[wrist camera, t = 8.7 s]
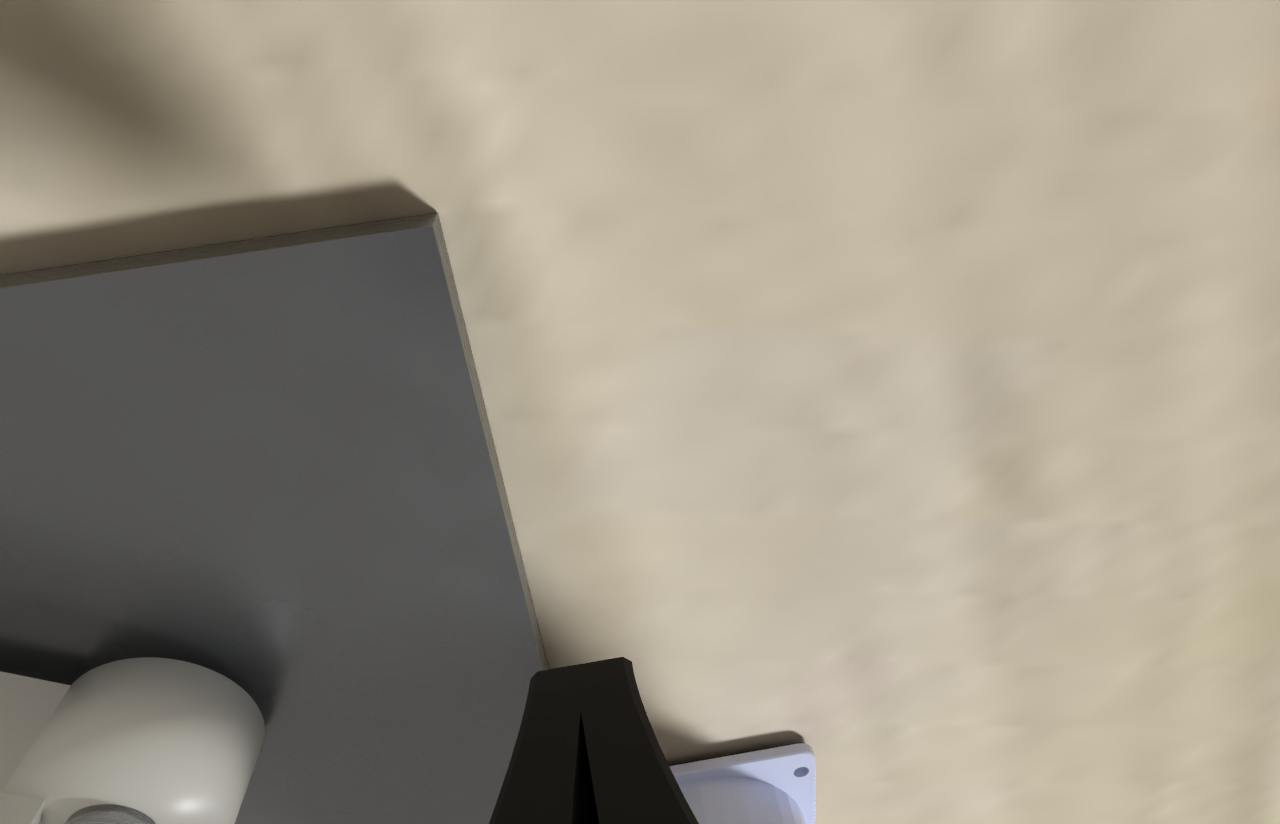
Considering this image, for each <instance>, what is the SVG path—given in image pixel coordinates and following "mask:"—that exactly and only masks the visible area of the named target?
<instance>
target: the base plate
mask: <svg viewBox="0 0 1280 824" xmlns="http://www.w3.org/2000/svg"><path fill="white" fill-rule="evenodd" d="M140 657H157V658H169V659H175V660H181V661H186V662H190V663H193V664H197V665H200V666H203V667H206V668H208V669H211V670H213V671H215V672H217V673H220V674H222V675H223V676H225V677H227V678H228V679H230V680H232V681H233V682H235V683H236V684H237V685H239V686H240V687H241V688H242V689H244V690H245V691H246V692H247V693H248V694H249V695H250V696H251V698H252V699H253V700H254V701H255V703H256V704H257V706H258V708H259V709H260V711H261V714H262V717H263V719H264V725H265V737H264V741H263V745H262V747H261V750H260V753H259V756H258V759H257V762H256V764H255V767H254V770H253V773H252V776H251V779H250V781H249V784H248V787H247V790H246V793H245V796H244V798H243V801H242V804H241V807H240V810H239V813H238V815H237V818H236V821H235V824H489V822H490V819H491V817H492V814H493V811H494V808H495V805H496V802H497V799H498V796H499V793H500V790H501V787H502V784H503V781H504V778H505V775H506V772H507V770H508V767H509V763H510V760H511V757H512V753H513V750H514V746H515V743H516V740H517V736H518V733H519V729H520V725H521V721H522V717H523V713H524V709H525V705H526V700H527V696H528V690H529V685H530V679H531V678H532V677H533V676H534V674H535V673H536V672H538V671H543V670H549V668H548V664H547V660H546V656H545V652H544V648H543V643H542V639H541V635H540V631H539V627H538V623H537V619H536V615H535V611H534V606H533V602H532V598H531V594H530V590H529V586H528V582H527V578H526V573H525V569H524V565H523V561H522V557H521V553H520V549H519V545H518V541H517V536H516V532H515V528H514V524H513V520H512V516H511V512H510V508H509V504H508V499H507V495H506V491H505V487H504V483H503V479H502V475H501V471H500V467H499V462H498V458H497V454H496V450H495V446H494V442H493V438H492V434H491V430H490V425H489V421H488V417H487V413H486V409H485V405H484V401H483V397H482V392H481V388H480V384H479V380H478V376H477V372H476V368H475V364H474V360H473V355H472V351H471V347H470V343H469V339H468V335H467V331H466V327H465V323H464V318H463V314H462V310H461V306H460V302H459V298H458V294H457V290H456V286H455V281H454V277H453V273H452V269H451V265H450V261H449V257H448V253H447V248H446V244H445V240H444V236H443V232H442V228H441V224H440V220H439V216H438V213H431V214H424V215H417V216H410V217H403V218H396V219H390V220H383V221H376V222H369V223H362V224H355V225H348V226H341V227H334V228H327V229H320V230H313V231H306V232H299V233H292V234H286V235H279V236H272V237H265V238H258V239H251V240H244V241H237V242H230V243H223V244H216V245H209V246H202V247H195V248H188V249H181V250H175V251H168V252H161V253H154V254H147V255H140V256H133V257H126V258H119V259H112V260H105V261H98V262H91V263H84V264H77V265H70V266H64V267H57V268H50V269H43V270H36V271H29V272H22V273H15V274H8V275H1V276H0V671H1V672H6V673H11V674H16V675H21V676H26V677H31V678H36V679H41V680H46V681H51V682H56V683H61V684H66V685H72V684H73V682H74V681H76V680H77V679H78V678H79V677H80V676H82V675H83V674H85V673H87V672H88V671H90V670H92V669H94V668H96V667H99V666H101V665H103V664H107V663H110V662H113V661H118V660H123V659H129V658H140Z"/></svg>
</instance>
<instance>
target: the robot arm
mask: <svg viewBox="0 0 1280 824" xmlns="http://www.w3.org/2000/svg"><path fill="white" fill-rule="evenodd" d="M489 824H816V776H815V756H814V753H813V750H812V747H810V746H809V745H807V744H803V743H799V744H792V745H787V746H781V747H775V748H770V749H764V750H758V751H753V752H747V753H741V754H736V755H730V756H724V757H719V758H713V759H707V760H702V761H696V762H690V763H685V764H679V765H673V766H669V765H668V763H667V761H666V759H665V757H664V754H663V752H662V750H661V748H660V746H659V743H658V741H657V739H656V737H655V734H654V732H653V729H652V727H651V724H650V722H649V719H648V717H647V714H646V712H645V709H644V706H643V703H642V701H641V697H640V694H639V691H638V688H637V684H636V680H635V677H634V672H633V666H632V662H631V661H629V660H628V659H626V658H624V657H620V658H614V659H608V660H602V661H596V662H590V663H585V664H579V665H573V666H567V667H561V668H555V669H549V670H543V671H538V672H536V673H535V674H534V676H533V677H532V678H531V679H530V685H529V690H528V696H527V700H526V705H525V709H524V713H523V717H522V721H521V725H520V729H519V733H518V736H517V740H516V743H515V746H514V750H513V753H512V757H511V760H510V763H509V767H508V770H507V772H506V775H505V778H504V781H503V784H502V787H501V790H500V793H499V796H498V799H497V802H496V805H495V808H494V811H493V814H492V817H491V819H490V822H489Z"/></svg>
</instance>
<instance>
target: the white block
mask: <svg viewBox="0 0 1280 824" xmlns="http://www.w3.org/2000/svg"><path fill="white" fill-rule="evenodd" d="M264 737H265V725H264V719H263V717H262V714H261V711H260V709H259V708H258V706H257V704H256V703H255V701H254V700H253V699H252V698H251V696H250V695H249V694H248V693H247V692H246V691H245V690H244V689H242V688H241V687H240V686H239V685H237V684H236V683H235V682H233V681H232V680H230V679H228V678H227V677H225V676H223V675H222V674H220V673H217V672H215V671H213V670H211V669H208V668H206V667H203V666H200V665H197V664H193V663H190V662H186V661H181V660H175V659H169V658H157V657H140V658H129V659H123V660H118V661H113V662H110V663H107V664H103V665H101V666H99V667H96V668H94V669H92V670H90V671H88V672H87V673H85V674H83V675H82V676H80V677H79V678H78V679H77V680H76V681H74V682H73V684H72V685H66V684H61V683H56V682H51V681H46V680H41V679H36V678H31V677H26V676H21V675H16V674H11V673H6V672H1V671H0V824H235V821H236V818H237V815H238V813H239V810H240V807H241V804H242V801H243V798H244V796H245V793H246V790H247V787H248V784H249V781H250V779H251V776H252V773H253V770H254V767H255V764H256V762H257V759H258V756H259V753H260V750H261V747H262V745H263V741H264Z"/></svg>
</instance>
